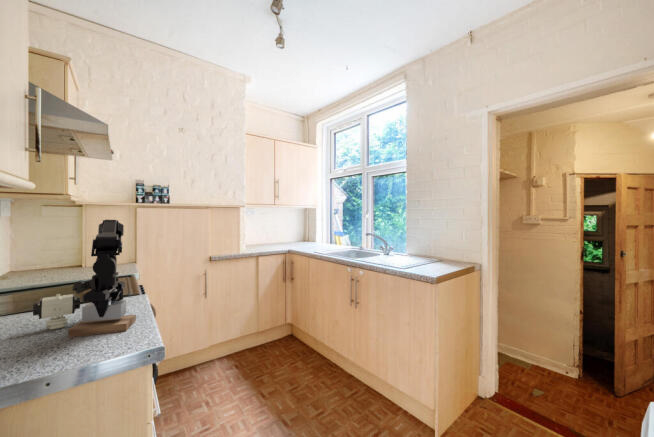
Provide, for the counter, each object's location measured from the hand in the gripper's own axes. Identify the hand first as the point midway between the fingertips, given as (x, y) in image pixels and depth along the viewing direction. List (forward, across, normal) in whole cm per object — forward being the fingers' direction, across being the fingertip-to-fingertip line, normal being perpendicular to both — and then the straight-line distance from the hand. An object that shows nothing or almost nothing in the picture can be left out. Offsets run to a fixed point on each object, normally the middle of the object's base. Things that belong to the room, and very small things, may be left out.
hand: (104, 314), depth 95 cm
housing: (+1, 0, 0) cm, 1 cm away
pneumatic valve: (+5, -6, -16) cm, 18 cm away
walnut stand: (+5, 0, 0) cm, 5 cm away
